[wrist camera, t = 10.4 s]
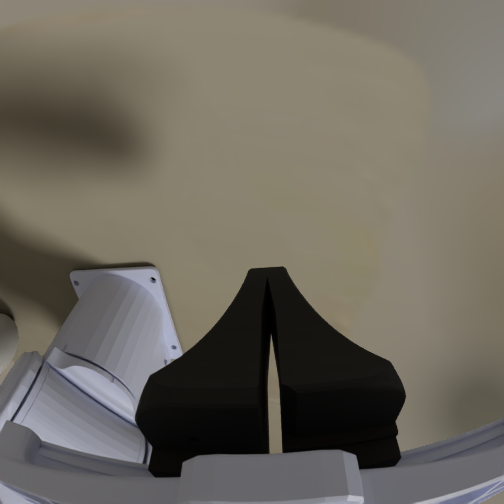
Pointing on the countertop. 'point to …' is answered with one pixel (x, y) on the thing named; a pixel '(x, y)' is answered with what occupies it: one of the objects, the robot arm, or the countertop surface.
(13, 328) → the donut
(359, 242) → the countertop surface
